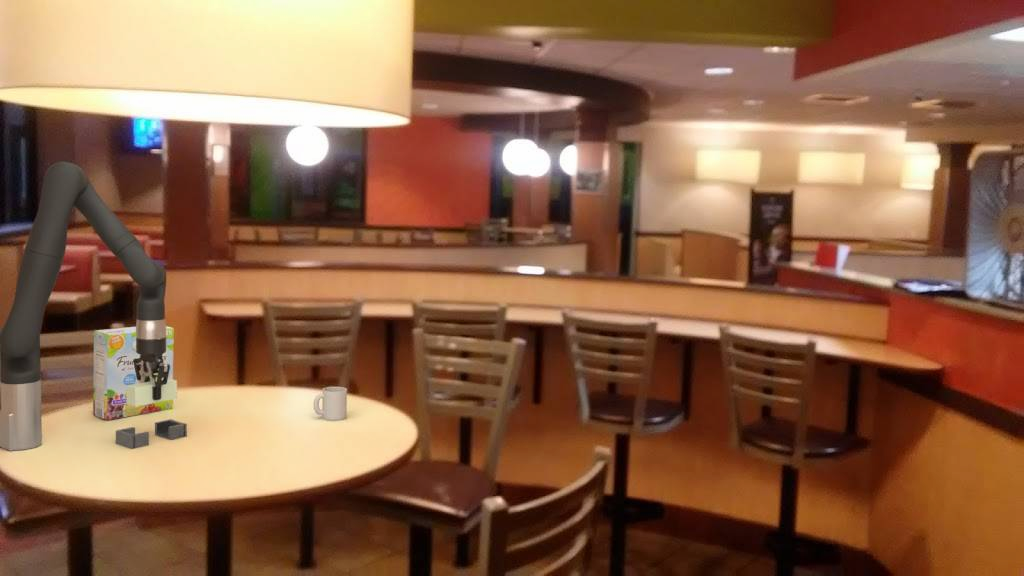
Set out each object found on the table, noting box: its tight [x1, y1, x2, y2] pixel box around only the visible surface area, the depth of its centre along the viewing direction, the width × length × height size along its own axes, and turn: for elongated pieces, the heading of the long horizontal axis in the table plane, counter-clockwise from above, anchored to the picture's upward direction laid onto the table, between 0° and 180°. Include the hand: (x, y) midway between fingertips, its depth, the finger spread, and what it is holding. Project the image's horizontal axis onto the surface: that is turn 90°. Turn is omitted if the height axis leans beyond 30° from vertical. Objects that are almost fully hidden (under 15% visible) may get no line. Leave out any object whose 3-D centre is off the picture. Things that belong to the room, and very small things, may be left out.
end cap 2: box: [154, 418, 188, 441], centre depth 252 cm, size 5×7×4 cm
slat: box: [126, 378, 178, 406], centre depth 246 cm, size 12×4×5 cm, turn 144°
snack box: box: [92, 325, 175, 421], centre depth 273 cm, size 22×9×26 cm, turn 143°
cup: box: [313, 386, 348, 422], centre depth 276 cm, size 7×10×9 cm
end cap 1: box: [115, 427, 150, 450], centre depth 242 cm, size 5×7×4 cm
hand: (151, 398), depth 246 cm, fingers closed on slat, 4 cm apart
